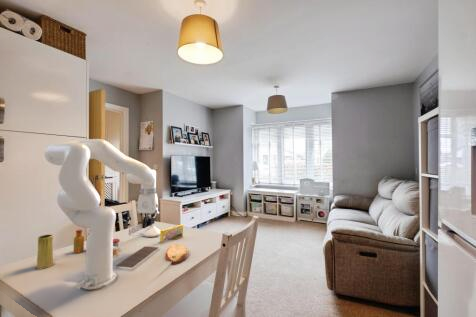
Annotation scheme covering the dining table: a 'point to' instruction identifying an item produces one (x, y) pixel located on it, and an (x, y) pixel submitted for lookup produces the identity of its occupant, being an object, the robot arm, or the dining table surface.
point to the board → (137, 257)
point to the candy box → (171, 233)
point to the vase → (45, 251)
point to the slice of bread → (176, 253)
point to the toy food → (80, 243)
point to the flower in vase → (151, 231)
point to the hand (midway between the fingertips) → (147, 225)
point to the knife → (139, 227)
